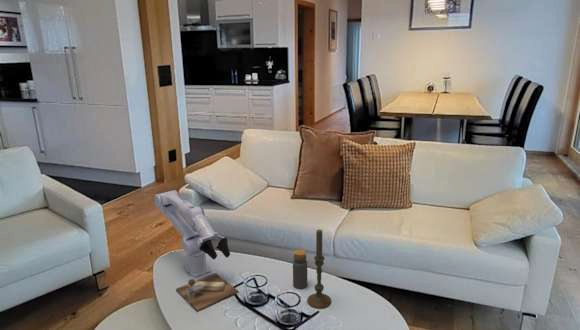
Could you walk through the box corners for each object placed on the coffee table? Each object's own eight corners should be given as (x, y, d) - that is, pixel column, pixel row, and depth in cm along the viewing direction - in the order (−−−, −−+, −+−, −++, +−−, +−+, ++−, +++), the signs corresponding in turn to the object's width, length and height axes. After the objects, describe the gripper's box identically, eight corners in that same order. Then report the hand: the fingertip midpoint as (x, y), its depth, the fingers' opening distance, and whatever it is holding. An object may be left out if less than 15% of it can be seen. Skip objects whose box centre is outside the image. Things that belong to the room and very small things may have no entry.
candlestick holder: (314, 311, 142) (315, 236, 134) (302, 298, 150) (302, 226, 142) (335, 304, 146) (337, 230, 138) (322, 292, 154) (323, 221, 146)
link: (187, 289, 155) (186, 282, 154) (189, 285, 158) (189, 278, 157) (222, 290, 153) (222, 284, 153) (224, 286, 156) (224, 279, 156)
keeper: (187, 296, 150) (186, 288, 149) (201, 291, 154) (200, 283, 153) (190, 300, 148) (189, 292, 147) (204, 295, 151) (203, 287, 150)
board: (176, 290, 156) (176, 288, 156) (215, 274, 167) (215, 272, 167) (197, 312, 143) (197, 309, 143) (238, 293, 154) (238, 290, 154)
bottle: (306, 289, 155) (306, 256, 152) (291, 288, 157) (291, 254, 153) (308, 282, 161) (308, 249, 157) (294, 280, 162) (294, 247, 158)
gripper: (197, 224, 152) (215, 251, 146) (222, 223, 164) (239, 248, 158) (188, 236, 154) (204, 263, 148) (213, 235, 166) (229, 260, 160)
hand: (222, 256), depth 153 cm, fingers open, 7 cm apart
